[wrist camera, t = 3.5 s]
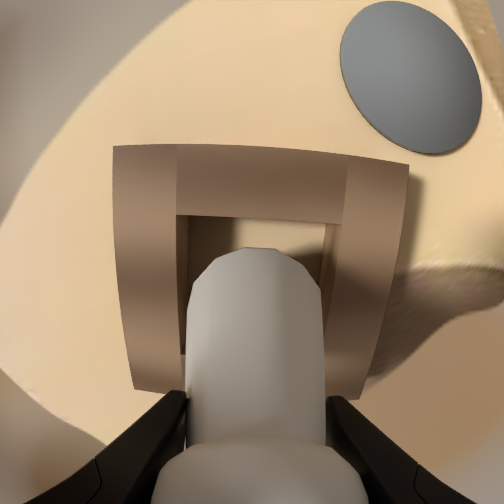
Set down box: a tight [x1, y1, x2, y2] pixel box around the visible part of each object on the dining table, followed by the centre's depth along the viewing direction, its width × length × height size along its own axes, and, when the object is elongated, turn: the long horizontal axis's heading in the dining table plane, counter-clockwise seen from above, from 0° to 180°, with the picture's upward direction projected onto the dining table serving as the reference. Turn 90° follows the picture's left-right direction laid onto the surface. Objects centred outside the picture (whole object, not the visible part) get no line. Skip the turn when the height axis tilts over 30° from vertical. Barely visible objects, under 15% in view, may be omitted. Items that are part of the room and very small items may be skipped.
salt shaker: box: [151, 247, 369, 504], centre depth 9 cm, size 6×6×13 cm
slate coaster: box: [340, 1, 482, 153], centre depth 14 cm, size 10×10×1 cm
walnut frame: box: [113, 144, 409, 400], centre depth 16 cm, size 14×14×3 cm
